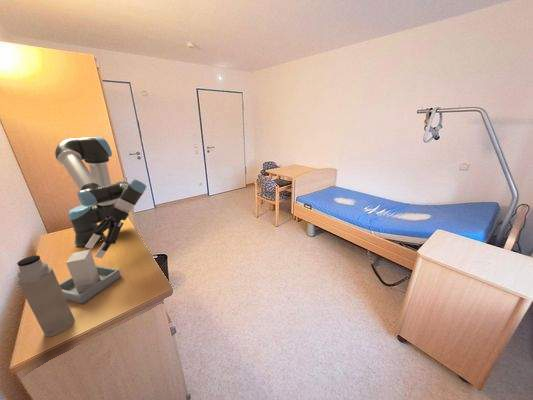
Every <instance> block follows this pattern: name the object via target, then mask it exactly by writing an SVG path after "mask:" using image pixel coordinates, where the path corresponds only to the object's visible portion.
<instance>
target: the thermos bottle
mask: <svg viewBox="0 0 533 400" xmlns="http://www.w3.org/2000/svg"><path fill="white" fill-rule="evenodd" d="M42 261H43V260H41V257H40V255H32V256H31V255H30V256H27V257H25V258H23V259H20V260H18V262H17V263H16V264H17V266H18V269H19V271H18V272H17V280H16V281H17V284H18V285H19V288H20V290H21V292H22V294H23V295H24V297H25V299H26V301H27V304H28V305H29V307H30V309H31V311H32V312H33V315H34V317H35V319H36V320H37V323H38V325H39V326H40V328H41V331H42V332H43V335H44V336H45V337H54V336H57V335H60V334H62V333H64V332H65V331H66V330H68V329H69V328H70V327H71V326H72V325H73V324H74V322H75V317H74V314H73V312H72V311H71V308H70V305H69V303H68V300H66V299H65V296H64V294H63V292H62V290H61V287H60V285H59V284H60V283H59V280H58V278H57V276H56V274H55V272H54V269H53V267H51V266H49V264H48V263H47V262H44V261H43V262H42Z"/></svg>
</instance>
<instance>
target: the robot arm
mask: <svg viewBox="0 0 533 400" xmlns="http://www.w3.org/2000/svg"><path fill="white" fill-rule="evenodd" d="M54 154H55V155H54V156H55V158H56V160H57V162H58V163H59V165H62V166H63V167H64V168H65V169H66V171H67V172H68V174H69V176H70V177H71V179H72V180H73V182H74V183H75V185H76V187H77V188H78V189H79V191H77V197H78V201H79V202H80V204H81V205H78V206H76V207H73V208H71V209H70V210H69V211H68V214H67V215H68V219H69V221H70V224H71V226H72V229H73V231H74V234H75V235H74V244H75V247H77V246H79V247H78V248H83V247H82V246H85V247H84V248H87V249H90V250H92V249H93V248H94V246H95V245H96V244H98V243H97V242H99V241H100V240H102V239H103V238H104V237H105V239H104V240H102V241H103V243H101V245H100V247H99V249H98V250H97V251H96V252H95V254H94V258H99V259H102V258H104V256H105V254H106V252H107V251H108V249H109V248H110V246H111V245H115V244H116V242H117V239H118V237H119V234H120V232H121V229H122V227H123V226H124V222H122V221H126V220H127V219H128V216H129V213H131V212H132V210H134V209H135V206H136V204H137V203H138V201H140V199H141V197H142V196H143V194H144V193H145V191H146V190H147V185H146V184H145V183H144V182H142V181H140V180H138V179H136V178H132V179H130V180H129V182H128V181H125V180H124V181H123V180H122V181H118V182H116V183H113V184H112V182H111V178H110V173H109V168H108V162H109V161H110V159H109V158H111V157H112V155H113V151H112V149H111V146H110V144H109V142H108V141H107V140H106V139H105V138H104V137H100V136H90V137H89V136H87V137H76V138H75V137H74V138H73V137H72V138H66V139H64V140H63V141H61V142H59V143H58V144H57V146H56V148H55V152H54ZM83 160H84V162H83ZM86 164H88V167H89V169H88V167H87V166H86ZM107 230H108V231H107ZM105 231H107V236H105ZM95 243H96V244H95ZM99 243H100V242H99Z"/></svg>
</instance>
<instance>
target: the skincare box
mask: <svg viewBox="0 0 533 400" xmlns="http://www.w3.org/2000/svg"><path fill="white" fill-rule="evenodd" d="M66 266H67V269H68V271H69V274H70V278H71V277H72V279H73V282H74V284H75V287H76V289H77V292H78V293H80V292H84V291H86V290H87V289H89V288H90V287H92V286H93V285H95V284H96V283H98V281H99V279H100V277H99V274H98V271H97V268H96V263H95V260H94V257H93V253H92V252H91V249H90V248H88V249H84V250H81V251H75V252H72V254H71V255H70V257H69V258H68V259H67V260H66Z"/></svg>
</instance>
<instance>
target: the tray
mask: <svg viewBox="0 0 533 400" xmlns="http://www.w3.org/2000/svg"><path fill="white" fill-rule="evenodd" d="M95 265H96V264H95ZM96 268H97V271H98V274H99V277H100V279H99V281H98V283H96V284H95V285H93V286H92V287H90V288H89V289H87V290H86V291H84V292H80V293H78V292H77V289H76V287H75V284H74V282H73V279H72V277H71V276H70V277H68V279H66V280H64V281H62V282H61V283H59V285H60V287H61V290H62V292H63V294H64V296H65V299H66V301H67V302H68V301H69V302H72V303H75V304H79V305H82V306H83V305H86V303H88V302H90V301H91V300H92V299H94V298H95V297H96V296H98V295H99V294H100V293H102V292H103V291H104V290H106V289H107V288H109V287H110V286H111V285H113V284H114V283H116V282H117V281H118V280H120V279H121V278H122V274H121V271H120V269H117V268H112V267H108V266H107V267H106V266H101V265H96Z"/></svg>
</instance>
